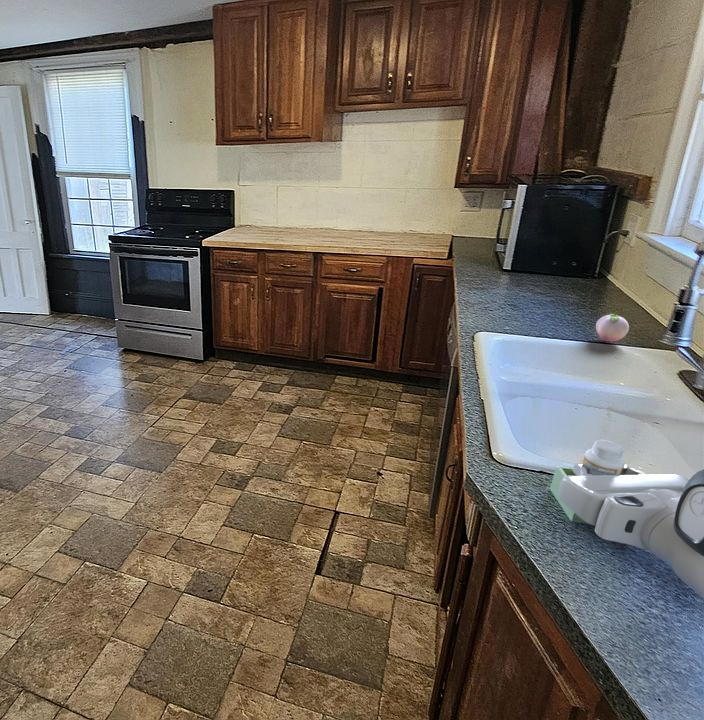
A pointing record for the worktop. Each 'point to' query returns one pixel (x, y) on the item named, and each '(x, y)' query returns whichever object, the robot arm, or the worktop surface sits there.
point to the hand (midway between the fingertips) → (597, 466)
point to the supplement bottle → (604, 458)
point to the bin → (554, 488)
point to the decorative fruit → (612, 327)
